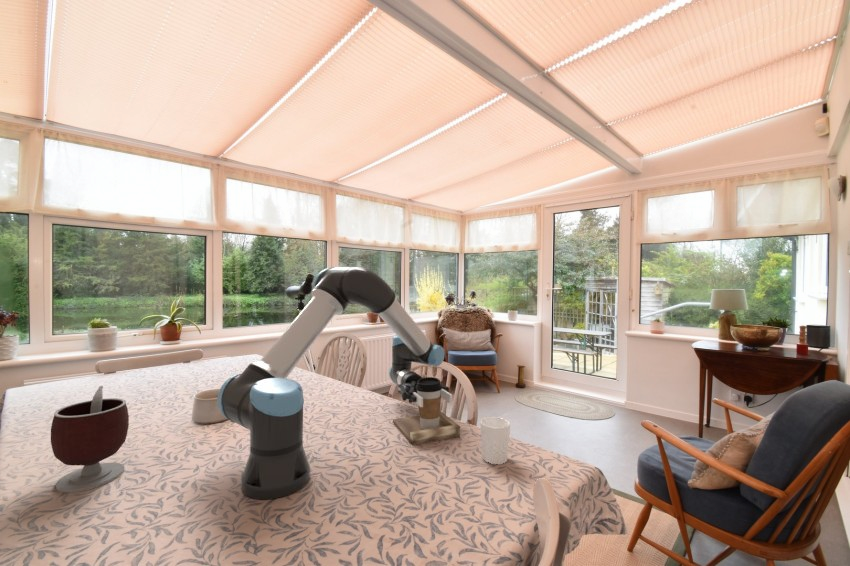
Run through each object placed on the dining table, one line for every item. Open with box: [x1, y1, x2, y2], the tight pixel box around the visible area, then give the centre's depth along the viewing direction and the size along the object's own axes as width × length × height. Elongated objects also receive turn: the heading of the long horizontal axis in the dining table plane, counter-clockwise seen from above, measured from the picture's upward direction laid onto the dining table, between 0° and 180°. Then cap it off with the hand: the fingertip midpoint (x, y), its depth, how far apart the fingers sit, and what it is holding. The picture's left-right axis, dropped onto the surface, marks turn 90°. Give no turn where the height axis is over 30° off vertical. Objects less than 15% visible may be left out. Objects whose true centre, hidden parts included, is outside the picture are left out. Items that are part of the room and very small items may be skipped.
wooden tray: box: [392, 410, 461, 446], centre depth 120 cm, size 16×18×3 cm
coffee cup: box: [416, 376, 442, 430], centre depth 119 cm, size 8×8×15 cm
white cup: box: [480, 416, 511, 465], centre depth 101 cm, size 8×8×10 cm
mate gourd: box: [50, 385, 130, 493], centre depth 89 cm, size 16×14×20 cm
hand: (436, 400), depth 114 cm, fingers open, 9 cm apart
